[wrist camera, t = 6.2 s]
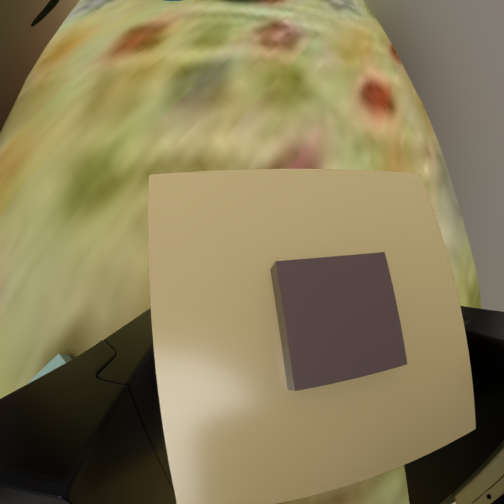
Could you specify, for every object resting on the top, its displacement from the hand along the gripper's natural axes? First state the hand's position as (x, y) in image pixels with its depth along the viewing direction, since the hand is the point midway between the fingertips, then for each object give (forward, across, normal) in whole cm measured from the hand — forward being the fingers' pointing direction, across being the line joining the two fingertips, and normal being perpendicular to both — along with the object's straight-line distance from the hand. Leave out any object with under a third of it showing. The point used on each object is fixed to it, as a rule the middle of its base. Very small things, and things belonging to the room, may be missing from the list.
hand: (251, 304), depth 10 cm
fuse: (+3, 0, -5) cm, 6 cm away
